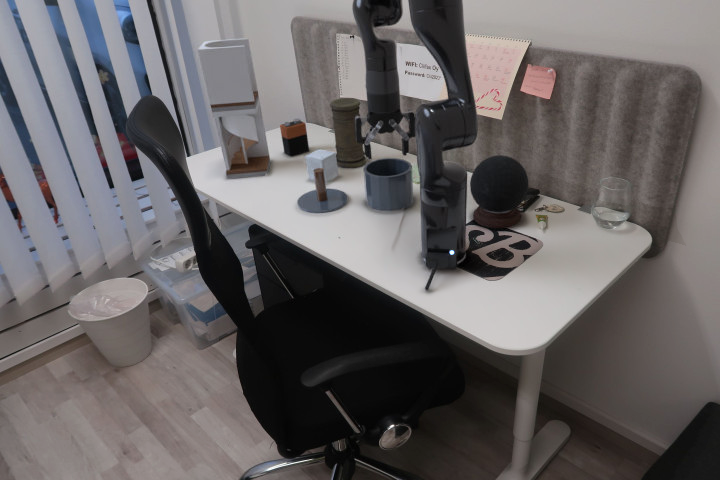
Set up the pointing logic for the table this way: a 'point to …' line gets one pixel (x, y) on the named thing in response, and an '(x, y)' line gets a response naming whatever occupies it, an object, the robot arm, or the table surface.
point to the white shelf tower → (235, 106)
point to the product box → (322, 163)
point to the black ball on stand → (498, 191)
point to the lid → (322, 196)
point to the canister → (388, 184)
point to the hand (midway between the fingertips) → (387, 156)
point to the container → (347, 133)
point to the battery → (294, 137)
